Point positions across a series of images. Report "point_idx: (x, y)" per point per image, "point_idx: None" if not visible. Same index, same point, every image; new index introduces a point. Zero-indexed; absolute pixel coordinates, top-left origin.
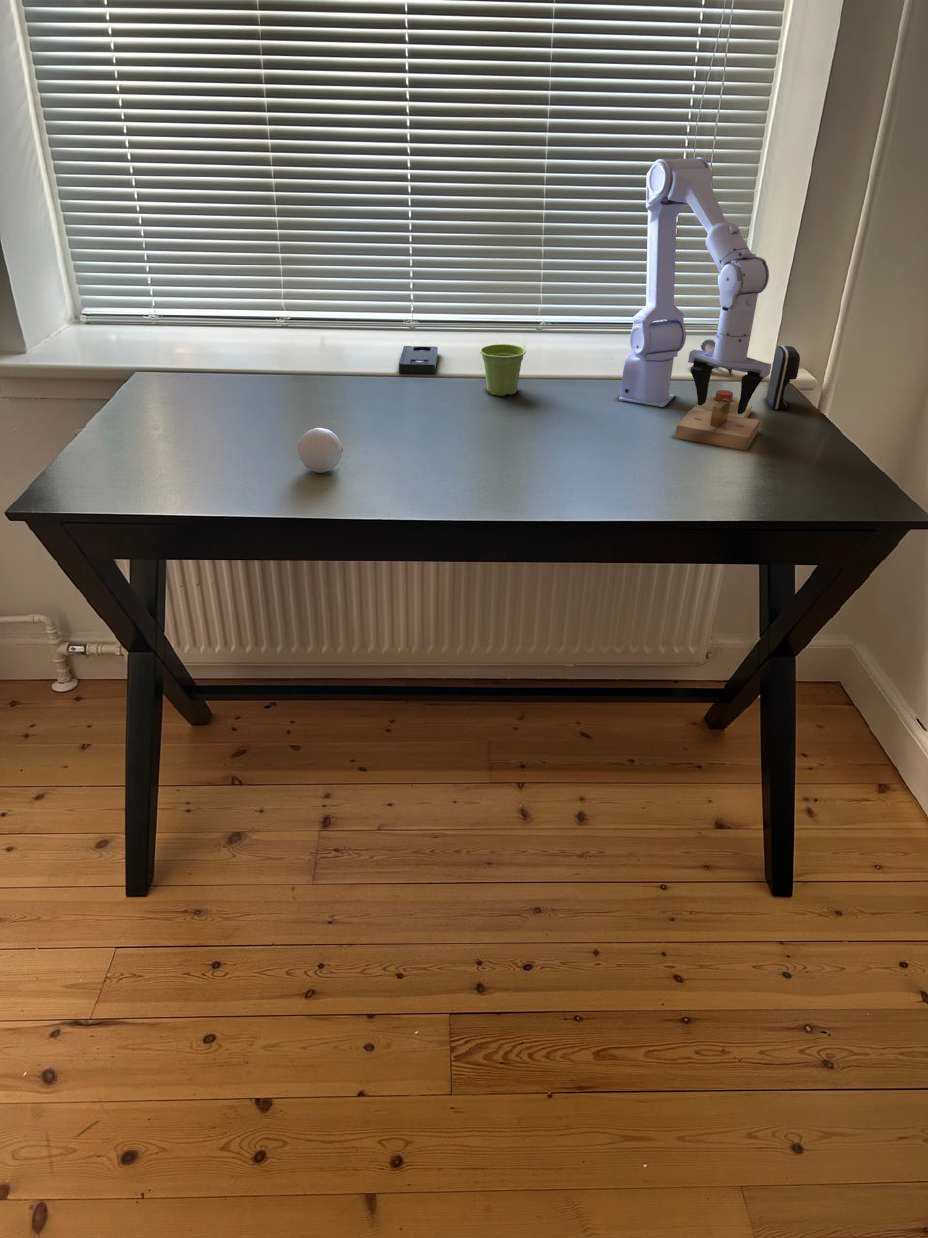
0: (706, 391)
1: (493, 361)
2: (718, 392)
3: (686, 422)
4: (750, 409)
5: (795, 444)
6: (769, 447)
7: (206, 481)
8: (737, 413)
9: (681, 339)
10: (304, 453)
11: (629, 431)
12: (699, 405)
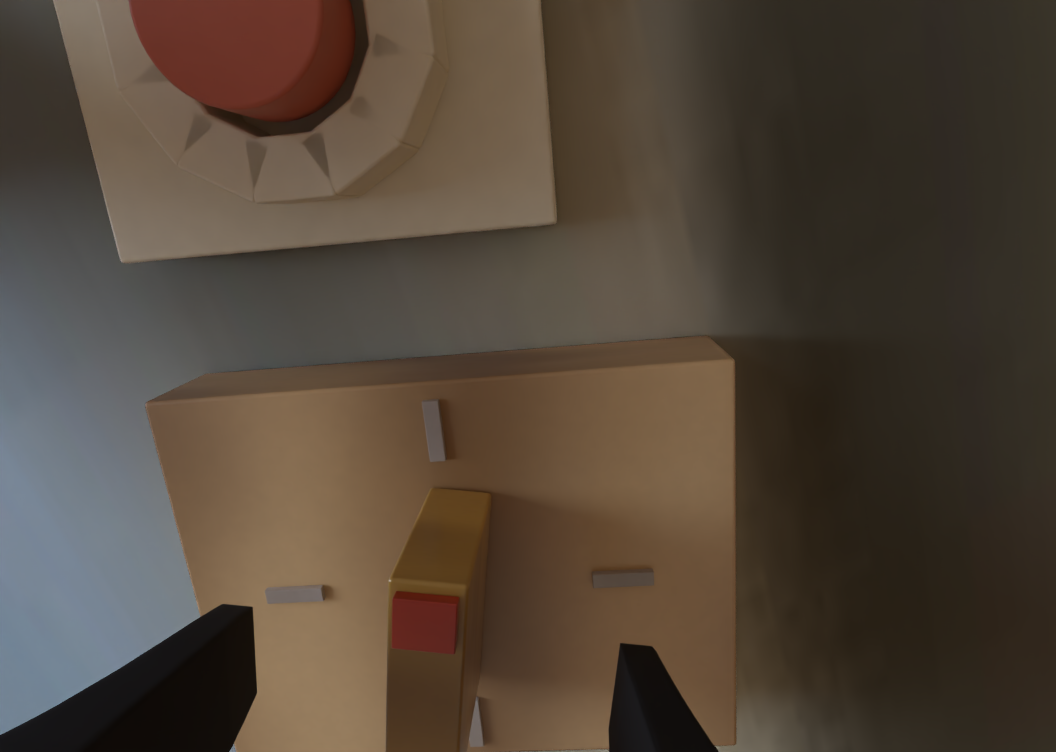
0: (183, 693)
1: None
2: (168, 46)
3: (263, 687)
4: None
5: (1009, 412)
6: (840, 553)
7: None
8: (609, 728)
9: None
10: None
11: (22, 713)
12: (118, 122)
